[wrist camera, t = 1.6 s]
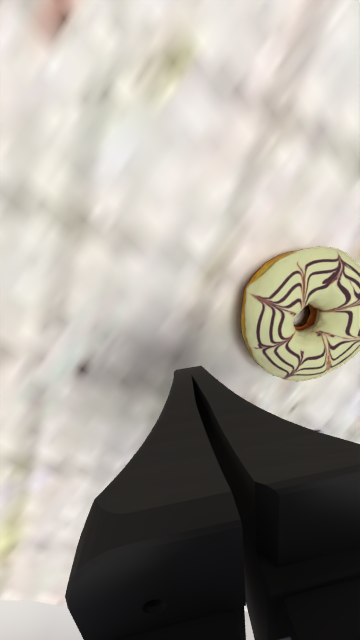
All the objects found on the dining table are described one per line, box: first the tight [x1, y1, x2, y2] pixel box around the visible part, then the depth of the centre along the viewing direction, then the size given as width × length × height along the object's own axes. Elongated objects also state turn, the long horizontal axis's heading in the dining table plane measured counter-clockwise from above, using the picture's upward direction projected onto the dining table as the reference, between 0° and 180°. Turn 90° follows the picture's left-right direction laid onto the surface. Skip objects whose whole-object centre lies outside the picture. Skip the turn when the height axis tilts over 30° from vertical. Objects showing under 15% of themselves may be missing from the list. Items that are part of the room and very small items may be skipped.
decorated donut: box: [241, 246, 360, 381], centre depth 18 cm, size 10×11×4 cm
